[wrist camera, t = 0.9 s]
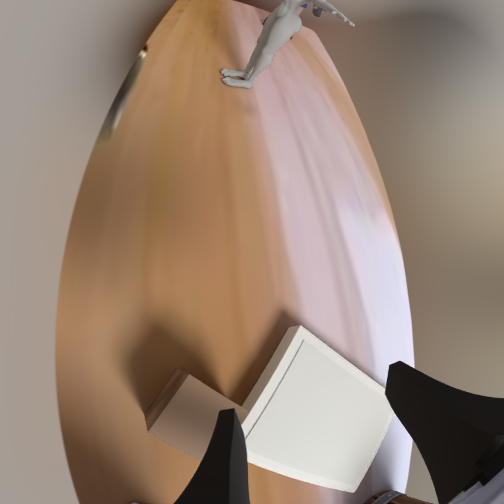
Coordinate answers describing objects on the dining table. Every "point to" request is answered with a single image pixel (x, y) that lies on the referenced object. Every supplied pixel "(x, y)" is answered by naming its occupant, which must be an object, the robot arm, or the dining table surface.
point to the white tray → (315, 415)
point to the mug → (394, 499)
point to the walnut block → (187, 414)
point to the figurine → (275, 38)
